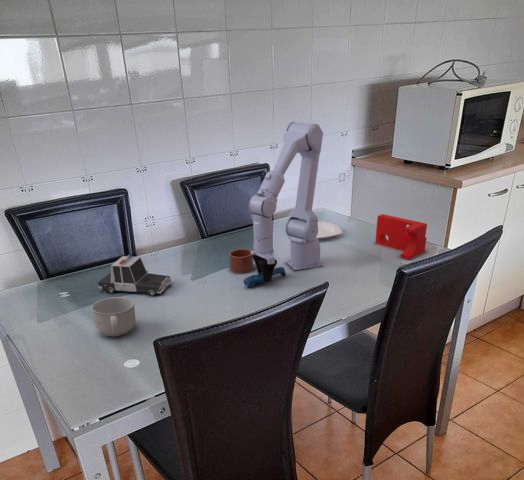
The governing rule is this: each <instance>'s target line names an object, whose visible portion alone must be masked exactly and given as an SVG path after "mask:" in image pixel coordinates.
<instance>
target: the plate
mask: <svg viewBox="0 0 524 480" xmlns="http://www.w3.org/2000/svg"><path fill="white" fill-rule="evenodd" d="M342 234H343V231H342V229H341V227H340V226H339V225H338V224H335V223H332V222H330V221H325V220H324V221H318V234H317V236H316V238H317V239H318V240H319V241H320V240H327V239H330V238H335V237H336V236H340V235H342Z"/></svg>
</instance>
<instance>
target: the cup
mask: <svg viewBox="0 0 524 480" xmlns="http://www.w3.org/2000/svg"><path fill="white" fill-rule="evenodd" d="M251 251H252V250H251V249H247V248H245V249H244V248H241V249H240V248H239V249H238V248H237V249H233V250H231V251H230V252H229V253H228V255H229V258H228V259H229V269H230V271H231V272H232V273H235V274H247V273H250V272H252V271H254V269H255V268H254V266H255V265H254V259H253V257H252V255H251Z"/></svg>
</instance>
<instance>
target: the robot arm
mask: <svg viewBox="0 0 524 480" xmlns="http://www.w3.org/2000/svg"><path fill="white" fill-rule="evenodd" d="M282 137H283V144H282V147H281V150H280V152H279V153H278V156H277V160H276V162H275V165H274V167H273V169H272V170H270V171H267V172H266V174H265V176H264V179H263V180H262V182H261V185H260V186H259V189H258V191H256V194H254V195H253V196H251V197H250V199H249V201H248V205H247V210H248V212H249V214H250V218H251V220H252V231H253V232H252V233H253V242H252V243H253V250H251V255H252V257H253V262H254V264H255V267H256V271H257V275H258V274H260V273H261V272H262V274H263V279H264V282H263V283H268V282H272V278H273V276H272V274H273V270H274V269H275V268H276V266H277V265H278V260H277V259H276V258H275V256H274V255H275V251H274V240H273V239H274V238H273V237H274V236H273V215H275V212H276V211H277V203H278V196H279V194H280V193H281V190H282V188H283V186H284V185H285V182H286V180H285V174H286V172H287V170H288V168H289V167H290V165H291V164H292V162H293V160H294V158H296V155H297V154H298V153H299V155H300V156H301V160H300V168H299V175H298V176H299V177H298V184H297V192H296V198H295V208H294V209H293V210H292V211H290V212H289V213H288V216H287V220H286V223H285V227H284V231H285V234H286V235H287V236H288V240H290V260H286V264H287V265H288V266H289V267H290V268H292V269H293V270H294V271H301V270H306V269H312V268H313V269H314V268H319V267H321V266H322V264H321V243H320V239H319V240H318V239H317V238H316V236H317V234H318V222H319V217H318V216H317V215H316V213H315V212H314V211H313V206H314V199H315V191H316V185H317V184H316V183H317V178H318V170H319V162H320V155H321V153H322V145H323V138H324V131H323V130H322V128H321V126H320V124H318V123H307V122H306V123H305V122H296V121H291V122H289V123H288V124H287V125H286V128H285V131H284V132H283V135H282Z"/></svg>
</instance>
